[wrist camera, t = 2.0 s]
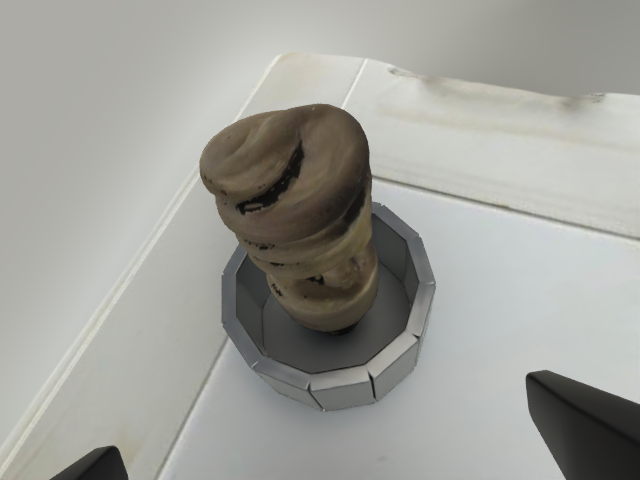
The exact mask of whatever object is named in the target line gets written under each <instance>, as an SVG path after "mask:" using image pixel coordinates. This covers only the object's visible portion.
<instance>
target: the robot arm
mask: <svg viewBox="0 0 640 480" xmlns="http://www.w3.org/2000/svg"><path fill="white" fill-rule="evenodd" d="M526 389H527V399H528V407H529V412H530V415H531V418H532V420H533V422H534V423H535V425H536V427H537V429H538V431H539V432H540V434H541V436H542V438H543V439H544V441H545V443H546V445H547V447H548V448H549V450H550V452H551V454H552V455H553V457H554V459H555V461H556V462H557V464H558V466H559V468H560V470H561V471H562V473H563V475H564V477H565V478H566V480H640V404H638V403H635V402H632V401H630V400H627V399H624V398H621V397H619V396H616V395H613V394H611V393H608V392H605V391H602V390H600V389H597V388H594V387H592V386H589V385H586V384H583V383H581V382H578V381H575V380H572V379H570V378H567V377H564V376H562V375H559V374H556V373H553V372H551V371H548V370H542V371H536V372H531V373H528V374H527V375H526ZM50 480H128V474H127V472H126V469H125V466H124V463H123V460H122V457H121V454H120V452H119V449H118V448H117V447H116V446H107V447H101V448H97V449H94V450H93V451H91V452H90V453H88V454H87V455H85V456H84V457H82V458H81V459H79V460H78V461H76V462H75V463H74V464H72V465H71V466H69V467H68V468H66V469H65V470H63V471H62V472H60V473H59V474H57V475H56V476H54V477H53V478H51V479H50Z"/></svg>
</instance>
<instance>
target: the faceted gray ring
mask: <svg viewBox="0 0 640 480" xmlns="http://www.w3.org/2000/svg"><path fill="white" fill-rule="evenodd" d="M371 219H372V236H371V238H370V239H371V240H372V242H373V244H374V246H375V248H376V252H377V259H378V260H379V261H381V262H382V263H383V264H384V265H385V266H386V267H387V268H388V269H389V270H390V271H391V272H392V273H393V274H394V275H395V276H396V277H397V278H398V279H399V280H400V281H402V282H403V283H404V287H405V290H406V294H407V297H408V301H409V305H410V308H411V310H410V314H409V317H408V320H407V323H406V326H405V330H404V331H402V332H401V333H400V334H399V335H398V336H397V337H395V338H394V339H393V340H392V341H391V342H390V343H388V344H387V345H386V346H385V347H384V348H383V349H381V350H380V351H379V352H378V353H377V354H376V355H374V356H373V357H372V358H371V359H370V360H369V361H367V362H366V363H365V364H362V365H356V366H351V367H345V368H340V369H334V370H328V371H323V372H317V373H308V372H306V371H303V370H301V369H298V368H295V367H293V366H290V365H288V364H285V363H283V362H280V361H277V360H275V359H272V358H270V356H269V355H268V354H267V352H266V351H265V349H264V348H263V331H262V313H261V310H262V308H263V306H264V304H265V302H266V300H267V298H268V296H269V294H270V292H271V290H270V287H269V285H268V282H267V277H266V272H265V271H263V270H261V269H260V268H259V267H258V266H257V265H256V264H254V262H253V261H252V260H251V258H250V257H249V255H248V253H247V251H246V250H245V249H244V248H243V247H242V246H241V244H240V243H239V245H238V247H237V248H236V250H235V252H234V254H233V255H232V257H231V259H230V261H229V262H228V264H227V266H226V268H225V269H224V271H223V273H224V275H222V323H223V324H224V325H223V328H224V329H225V331H226V332H227V334H228V335H229V337H230V338H231V340H232V341H233V343H234V344H235V346H236V347H237V349H238V350H239V352H240V353H241V355H242V356H243V358H244V359H245V361H246V362H247V364H248V365H249V367H250V368H251V369H252V370H253V371H254V372H255V373H257V374H258V375H259V376H260V377H261V378H262V379H263V380H264V381H265V382H267V383H268V384H269V385H270V386H271V387H272V388H273V389H274V390H275V391H277V392H278V393H279V394H282V395H284V396H286V397H289V398H291V399H294V400H296V401H298V402H301V403H303V404H306V405H308V406H310V407H313V408H315V409H317V410H320V411H323V409H324V410H325V411H326V412H327V411H333V410H339V409H345V408H350V407H356V406H362V405H368V404H373V403H374V402H375V401H374V399H375V400H376V401H377V402H378V401H379V400H380V399H382V398H383V397H384V396H385V395H386V394H387V393H388V392H389V391H390V390H392V389H393V388H394V387H395V386H396V385H397V384H398V383H399V382H401V381H402V380H403V379H404V378H405V377H406V376H407V375H408V374H410V373H411V372H412V371H413V370H414V367H416V364H417V361H418V357H419V354H420V350H421V346H422V343H423V339H424V336H425V332H426V329H427V325H428V321H429V316H430V312H431V307H432V303H433V298H434V293H435V289H436V286H435V283H436V282H435V279H434V275H433V272H432V269H431V266H430V263H429V260H428V257H427V254H426V251H425V248H424V245H423V242H422V239H421V237H419V234H418V233H417V232H415V231H414V230H413V229H412V228H411V227H409V226H408V225H407V224H406V223H405V222H404V221H402V220H401V219H400V218H399V217H398V216H396V215H395V214H394V213H393V212H392V211H391V210H389V209H388V208H387V207H386V206H385V205H383V206H382V207H381V204H380V203H376V202H372V213H371Z"/></svg>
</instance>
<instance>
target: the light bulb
mask: <svg viewBox="0 0 640 480" xmlns="http://www.w3.org/2000/svg"><path fill="white" fill-rule="evenodd" d="M199 162H200V176H201V178H202V181H203V184H204V185H205V186H206V188H207V189H208V190H209V192H210V193H212V194H214V195H215V197H216V205H217V209H218V212H219V215H220V217H221V219H222V220H223V222H224V224H225V225H226V226H227V227H228V228H229V229H230V230H232V231H233V232H234V233H235V234H236V238H237V239H238V241H239V242H240V244H241V246H242V247H243V248H244V249H245V250H246V251H247V253H248V255H249V257H250V258H251V260H252V261H253V262H254V264H256V265H257V266H258V267H259V268H260V269H261V270H263V271H265V272H266V277H267V282H268V285H269V287H270V290H271V292H272V293H273V295H274V296H275V298H276V299H277V301H278V303H279V304H280V305H281V306H282V308H283V309H284V310H285V311H286V312H287V313H288V314H289V315H290V316H291V318H292V319H293V320H295V321H296V322H298V323H299V324H301V325H303V326H305V327H307V328H310V329H314V330H318V331H323V332H326V333H329V334H332V335H336V336H337V335H343V334H346V333H348V332H350V331H351V330H353V329H354V328H355V327H356V325H357V324H358V322H359V320H360V319H361V318H362V317H363V316H364V315H365V314H366V312H367V311H368V310H369V309H370V308H371V307H372V304H373V302H374V300H375V298H376V295H377V291H378V274H379V269H378V260H377V252H376V248H375V246H374V244H373V242H372V240H371V239H370V238H371V236H372V219H371V213H372V197H371V189H372V175H371V170H370V165H369V146H368V141H367V138H366V135H365V133H364V131H363V129H362V127H361V125H360V123H359V122H358V121H357V120H356V119H355V118H354V117H353V116H352V115H350V114H349V113H347V112H346V111H345V110H343V109H340V108H337V107H335V106H332V105H329V104H312V105H306V106H300V107H295V108H291V109H288V110H280V111H271V112H265V113H260V114H256V115H253V116H250V117H247V118H245V119H242V120H239V121H237V122H235V123H234V124H232V125H230V126H228V127H226V128H225V129H223V130H222V131H221V132H219V133H218V134H217V135H215V136H214V137H213V138H212V139H211V140H210V142H209V143H208V144H207V146H206V147H205V148H204V150H203V152H202V155H201V158H200V161H199Z"/></svg>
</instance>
